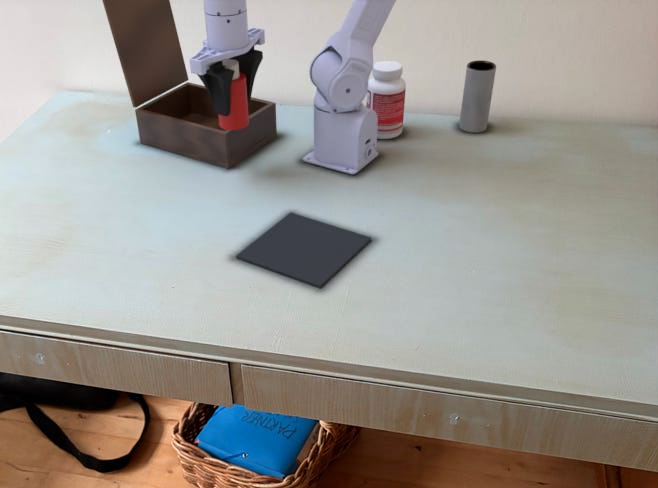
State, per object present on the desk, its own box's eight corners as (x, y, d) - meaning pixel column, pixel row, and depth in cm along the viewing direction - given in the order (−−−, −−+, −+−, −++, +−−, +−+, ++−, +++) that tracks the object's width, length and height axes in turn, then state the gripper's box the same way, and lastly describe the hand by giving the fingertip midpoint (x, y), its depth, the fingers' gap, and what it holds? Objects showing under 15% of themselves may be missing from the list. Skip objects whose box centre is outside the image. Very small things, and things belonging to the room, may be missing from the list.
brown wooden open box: (276, 136, 126) (275, 102, 122) (228, 169, 117) (225, 133, 114) (191, 114, 134) (187, 82, 130) (140, 143, 126) (134, 109, 122)
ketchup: (254, 121, 111) (251, 60, 105) (236, 132, 109) (232, 70, 103) (231, 115, 113) (226, 55, 107) (213, 126, 111) (207, 64, 105)
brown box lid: (159, -43, 119) (140, -41, 121) (98, -22, 111) (80, -20, 113) (188, 80, 130) (171, 79, 132) (135, 107, 122) (118, 107, 124)
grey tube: (471, 119, 128) (480, 58, 121) (492, 127, 125) (502, 65, 118) (453, 126, 126) (461, 65, 119) (473, 135, 123) (482, 72, 116)
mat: (371, 240, 100) (371, 237, 100) (320, 288, 92) (320, 285, 92) (290, 214, 106) (290, 212, 106) (235, 258, 98) (235, 255, 98)
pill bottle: (409, 133, 125) (415, 66, 117) (381, 143, 122) (385, 75, 115) (385, 121, 128) (389, 55, 121) (357, 130, 126) (360, 64, 119)
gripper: (234, -9, 107) (241, 86, 116) (167, 20, 98) (180, 120, 107) (275, -2, 104) (278, 95, 112) (209, 28, 95) (218, 130, 104)
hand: (233, 108), depth 109 cm, fingers closed on ketchup, 4 cm apart
